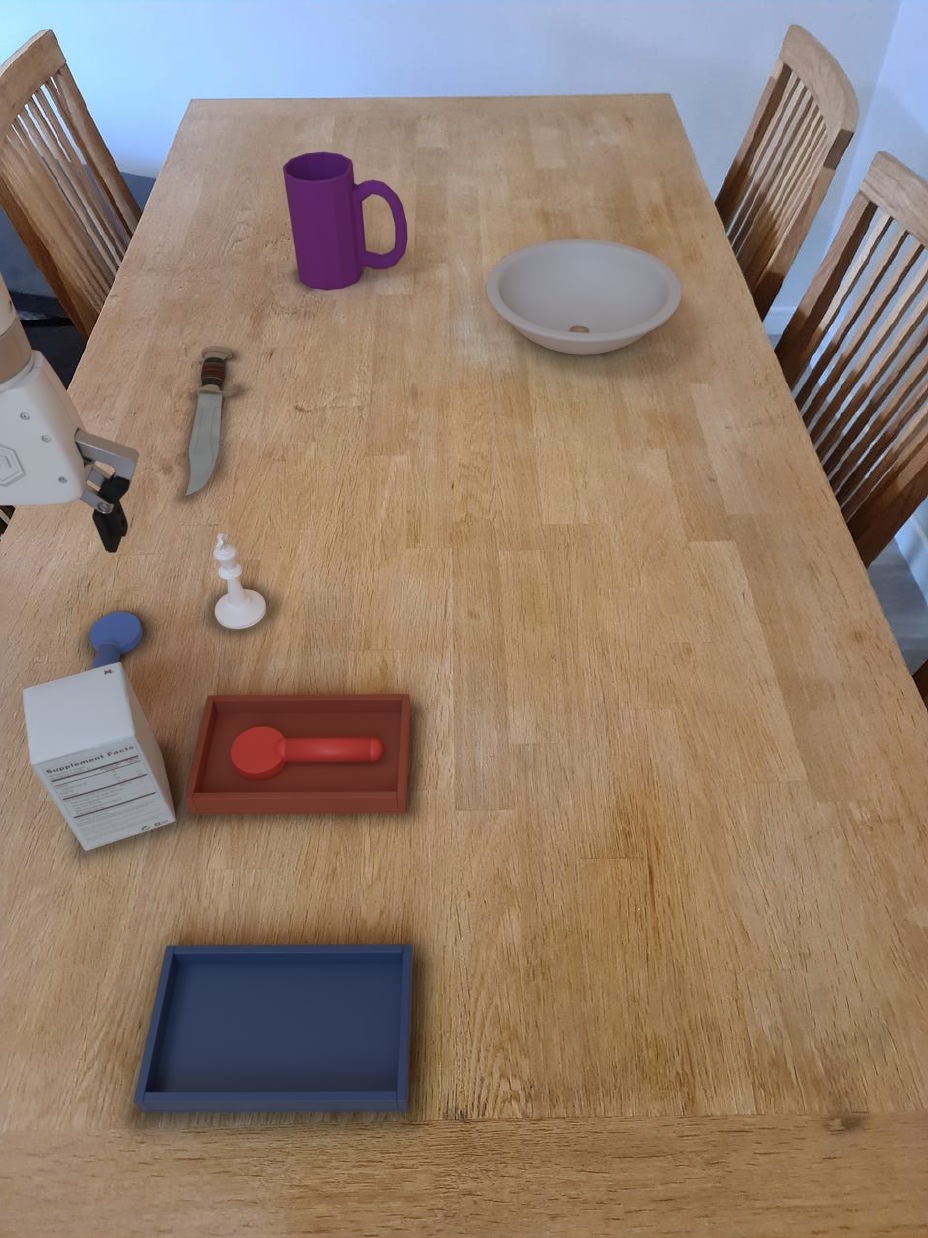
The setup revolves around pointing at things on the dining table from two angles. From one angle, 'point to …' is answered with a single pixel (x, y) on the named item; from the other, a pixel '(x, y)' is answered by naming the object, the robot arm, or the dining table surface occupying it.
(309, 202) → the mug
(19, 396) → the robot arm
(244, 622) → the chess piece
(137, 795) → the white packaging box
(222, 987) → the slate-blue tray
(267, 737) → the red spoon
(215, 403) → the knife
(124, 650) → the blue spoon
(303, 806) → the terracotta tray
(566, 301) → the white vessel sink
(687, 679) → the dining table surface
